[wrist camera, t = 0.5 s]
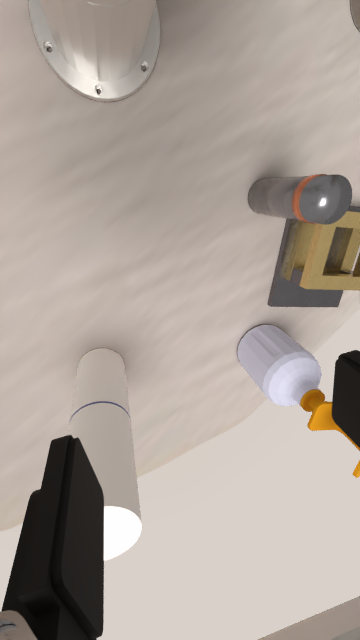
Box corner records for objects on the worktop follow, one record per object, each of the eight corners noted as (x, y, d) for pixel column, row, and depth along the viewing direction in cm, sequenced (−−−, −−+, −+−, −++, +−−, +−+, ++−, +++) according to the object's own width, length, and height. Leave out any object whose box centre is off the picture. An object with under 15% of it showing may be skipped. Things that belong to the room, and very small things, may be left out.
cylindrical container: (123, 346, 45) (141, 498, 23) (125, 384, 48) (142, 552, 26) (75, 350, 44) (44, 516, 22) (79, 389, 47) (56, 571, 24)
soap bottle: (243, 321, 49) (356, 431, 27) (290, 325, 51) (428, 428, 29) (230, 368, 52) (321, 498, 30) (275, 369, 54) (389, 490, 33)
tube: (250, 176, 39) (317, 170, 27) (281, 180, 41) (359, 176, 28) (244, 213, 41) (304, 223, 29) (274, 215, 42) (344, 227, 30)
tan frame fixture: (291, 199, 42) (320, 201, 36) (365, 208, 45) (402, 211, 39) (267, 304, 48) (289, 320, 42) (333, 305, 51) (362, 319, 46)
